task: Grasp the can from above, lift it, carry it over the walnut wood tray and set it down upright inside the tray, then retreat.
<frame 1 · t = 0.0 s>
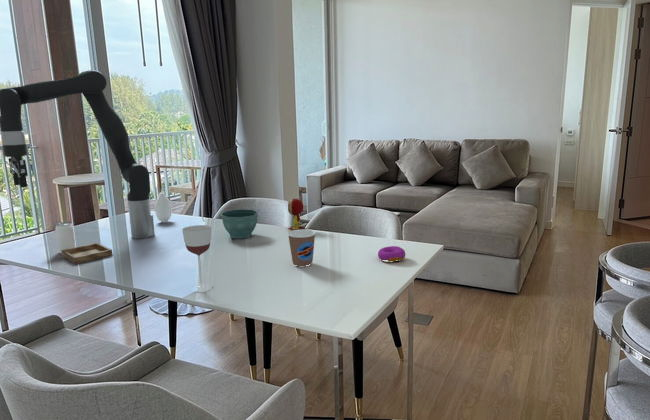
hand: (20, 186, 183), 29 cm above the table, fingers open, 8 cm apart
can: (67, 252, 199), on the table
teal green bowl: (241, 236, 217), on the table
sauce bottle: (164, 222, 247), on the table
donut: (391, 260, 180), on the table
wineglass: (201, 288, 156), on the table
tray: (87, 255, 192), on the table
figurine: (296, 230, 226), on the table
coffee cup: (302, 264, 177), on the table
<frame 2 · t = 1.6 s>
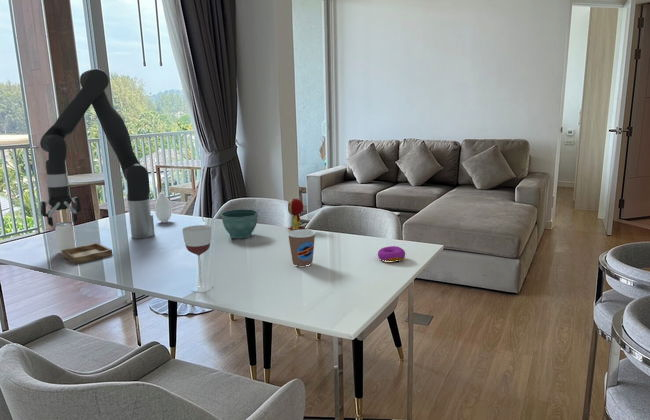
hand: (63, 224, 196), 12 cm above the table, fingers open, 8 cm apart
nothing on the table moved.
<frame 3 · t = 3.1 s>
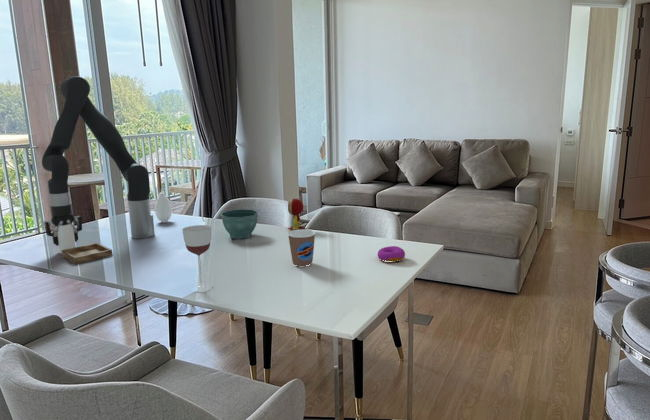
hand: (66, 243, 198), 4 cm above the table, fingers closed on can, 6 cm apart
can: (67, 252, 199), on the table, touching gripper
everything else where it was.
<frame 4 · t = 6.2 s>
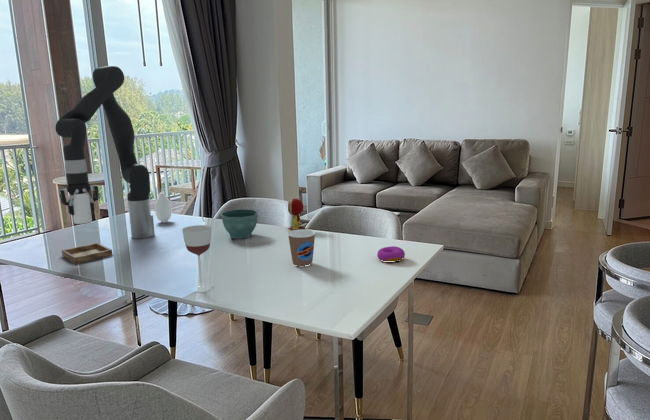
hand: (81, 213, 189), 17 cm above the table, fingers closed on can, 6 cm apart
can: (83, 223, 190), point 14 cm above the table, touching gripper
everything else where it was.
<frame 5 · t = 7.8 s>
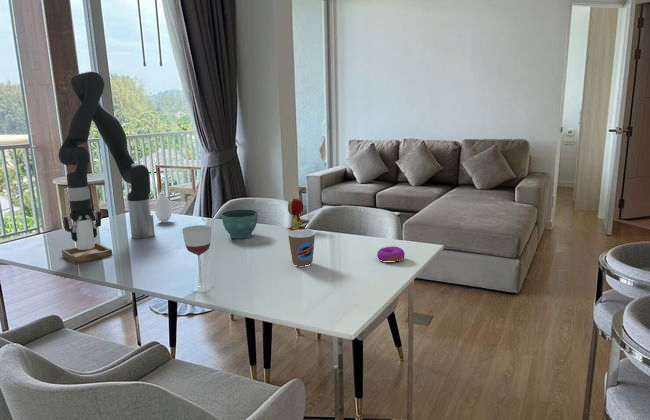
hand: (84, 239, 191), 7 cm above the table, fingers closed on can, 6 cm apart
can: (86, 248, 192), point 3 cm above the table, touching gripper
everything else where it was.
when the fingers open (6 cm above the table, at t = 9.2 s): can drops 1 cm, resting on tray.
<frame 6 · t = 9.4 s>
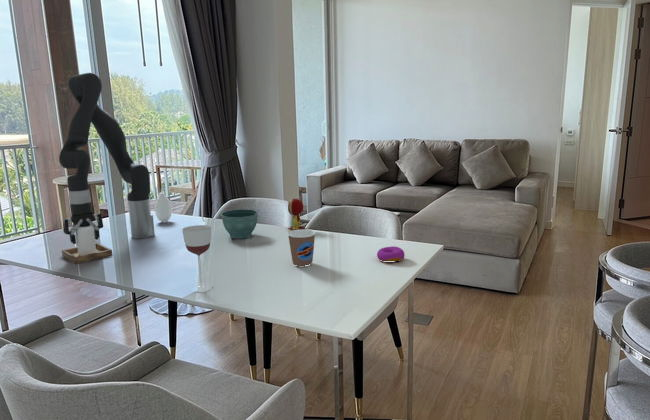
hand: (85, 241, 191), 6 cm above the table, fingers open, 8 cm apart
can: (87, 254, 192), point 1 cm above the table, touching tray
everything else where it was.
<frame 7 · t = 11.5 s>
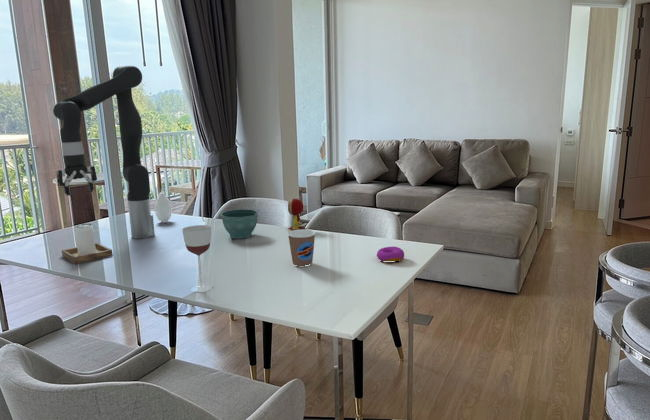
hand: (79, 193, 194), 24 cm above the table, fingers open, 8 cm apart
nothing on the table moved.
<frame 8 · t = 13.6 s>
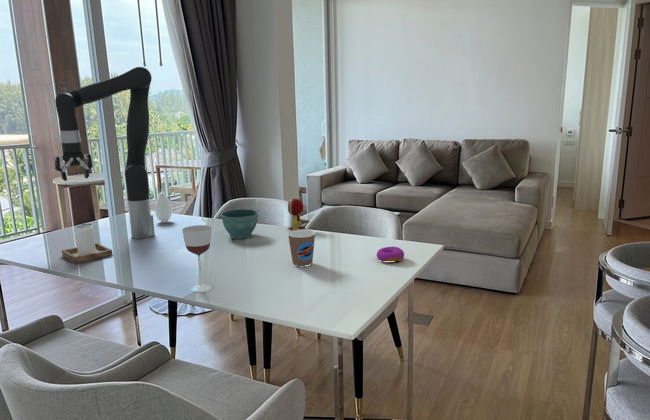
hand: (76, 179, 206), 28 cm above the table, fingers open, 8 cm apart
nothing on the table moved.
at the end: can inside the target area on the tray (0.1 cm from its centre), point 0.4 cm above the tray's base; can tilted 0°; the gripper is holding nothing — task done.
